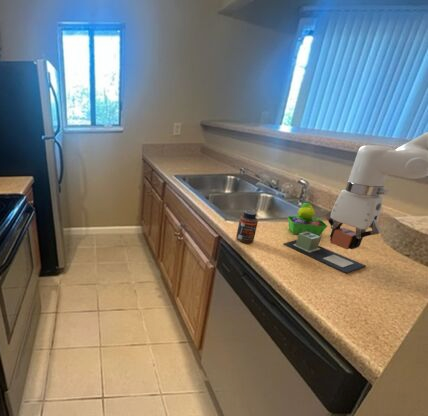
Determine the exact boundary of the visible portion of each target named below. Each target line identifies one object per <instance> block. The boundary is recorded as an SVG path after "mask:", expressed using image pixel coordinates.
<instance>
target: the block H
mask: <svg viewBox="0 0 428 416" xmlns="http://www.w3.org/2000/svg"><path fill="white" fill-rule="evenodd" d="M321 238H322V236H321V235H320V236H318V235H315V234H313V233H310V232H303V233H299V234H297V238H296V240H297V242H296V245H297V246H299V247H301V248H303V249H306V250H308V251H310V250H313V249H317V247H318V246H319V244H320V241H321Z"/></svg>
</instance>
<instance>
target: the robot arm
mask: <svg viewBox="0 0 428 416" xmlns="http://www.w3.org/2000/svg"><path fill="white" fill-rule="evenodd" d="M388 175H391V176H395V177H400V178H404V179H411V180H414V179H423V178H427V177H428V131H426V132H425V133H422V134H421V135H419V136H417V137H416V138H413V139H412V140H410V141H408V142H406V143H405V144H402V145H400V146H399V147H398V148H396V149H394V148H393V147H390V146H387V145H376V144H374V145H372V144H371V145H369V144H368V145H367V144H366V145H363V146H361V147H360V148H359V149H358V151H357V154H356V156H355V159H354V162H353V165H352V168H351V170H350V174H349V176H348V181H347V183H346V185H345V189H342V190H341V192H340V193H339V195H338V197H337V199H336V200H335V203H334V204H333V207H332V209H331V210H330V211H328V212H326V213H324V214H323V216H324V218H325V219H326V220H327V222H328V223H329V225H330V229H331V232H330V235H329V237H330V239H329V241H330V242H331V240H332V237H333V234H334V231H335V230H337V229H340V228H342V226H343V225H347V226H350V227H352V228H355V232H356V235H355V237H353V238H352V241H351V244H350V246H349V249H350V250H354V249H357V248H360V247H361V244H362V241H363V238H366V237H369V236H374V235H380V234H382V230H381V227H380V226H379V224H378V222H379V219H380V217H381V212H382V206H383V199H384V196H383V195H385V196H386V195H387V194H388V192H389V190H388V189H385V188H384V184H385V181H386V179H387V177H388ZM369 228H370V229H371V230H368V229H369ZM349 249H348V250H349Z"/></svg>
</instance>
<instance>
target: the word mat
mask: <svg viewBox="0 0 428 416" xmlns="http://www.w3.org/2000/svg"><path fill="white" fill-rule="evenodd" d="M296 242H297V239H295V240H291V241H288V242H284V243H283V244H282V245H283V246H285V247H288V248H289V249H292V250H294V251H296V252H299V253H300V254H303V255H306V256H307V257H309V258H312V259H314V260H315V261H318V262H320V263H321V264H324V265H326V266H329V267H331V268H333V269H334V270H337V271H339V272H342V273H343V274H349V273H352V272H355V271H357V270H360V269H363V268H365V267H366V264H364V263H361V262H359V261H357V260H354V259H352V258H350V257H347V256H344V255H342V254H340V253H337V252H335V251H333V250H330V249H327V248H325V247H323V246H321V245H318V247H317V249H313V250H310V251H308V250H306V249H303V248H301V247H299V246H297V245H296Z"/></svg>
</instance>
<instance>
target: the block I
mask: <svg viewBox="0 0 428 416" xmlns="http://www.w3.org/2000/svg"><path fill="white" fill-rule="evenodd" d="M355 235H356V230H352V229H350V228H346V227H340V229H337V230H335V231H334V234H333V237H332V240H331V241H330V244H332V245H335V246H337V247H340V248H342V249H345V250H349V246H350V244H351V241H352V238H353V237H355Z"/></svg>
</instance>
